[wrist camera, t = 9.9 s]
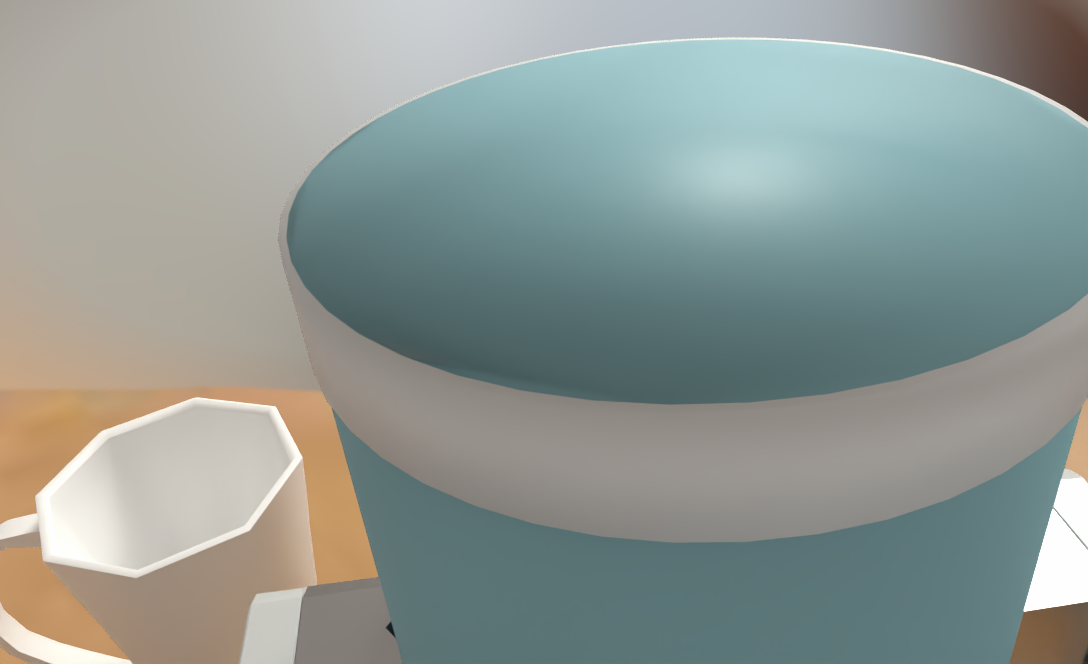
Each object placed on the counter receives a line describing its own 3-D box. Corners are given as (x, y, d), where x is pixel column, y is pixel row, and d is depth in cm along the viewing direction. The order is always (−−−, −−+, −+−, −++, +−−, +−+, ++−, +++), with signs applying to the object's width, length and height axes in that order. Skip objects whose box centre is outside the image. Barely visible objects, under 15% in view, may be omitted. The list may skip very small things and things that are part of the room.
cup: (356, 753, 26) (286, 553, 22) (-4, 810, 26) (-150, 617, 22) (367, 566, 32) (314, 378, 28) (73, 610, 32) (-29, 426, 27)
